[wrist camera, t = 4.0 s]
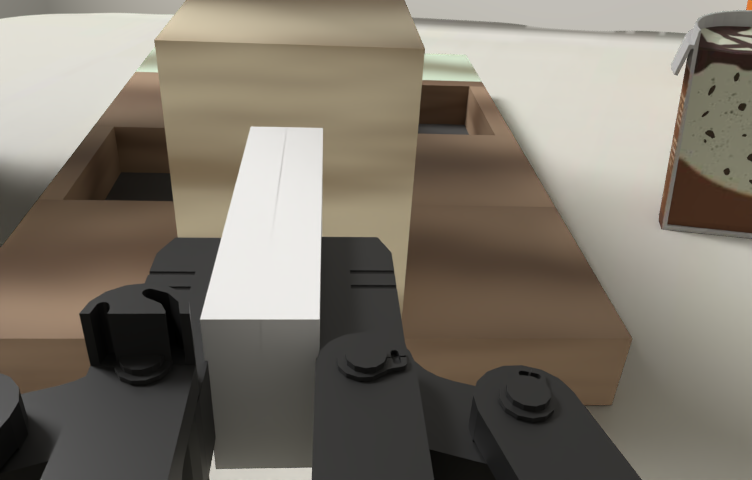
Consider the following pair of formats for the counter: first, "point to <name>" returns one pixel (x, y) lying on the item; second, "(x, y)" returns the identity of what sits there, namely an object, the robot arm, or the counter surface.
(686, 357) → the counter surface
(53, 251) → the board
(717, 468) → the counter surface
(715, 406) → the counter surface
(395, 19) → the block
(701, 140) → the food container
